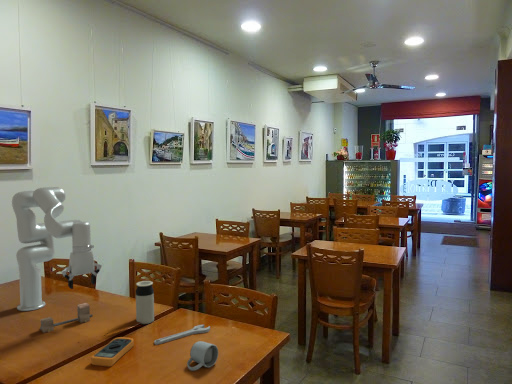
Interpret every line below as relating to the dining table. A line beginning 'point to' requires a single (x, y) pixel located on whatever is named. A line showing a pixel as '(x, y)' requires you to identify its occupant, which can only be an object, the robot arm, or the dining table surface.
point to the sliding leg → (83, 312)
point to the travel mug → (144, 302)
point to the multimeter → (112, 352)
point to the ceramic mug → (203, 355)
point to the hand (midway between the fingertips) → (82, 286)
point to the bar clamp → (52, 324)
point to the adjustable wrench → (183, 334)
